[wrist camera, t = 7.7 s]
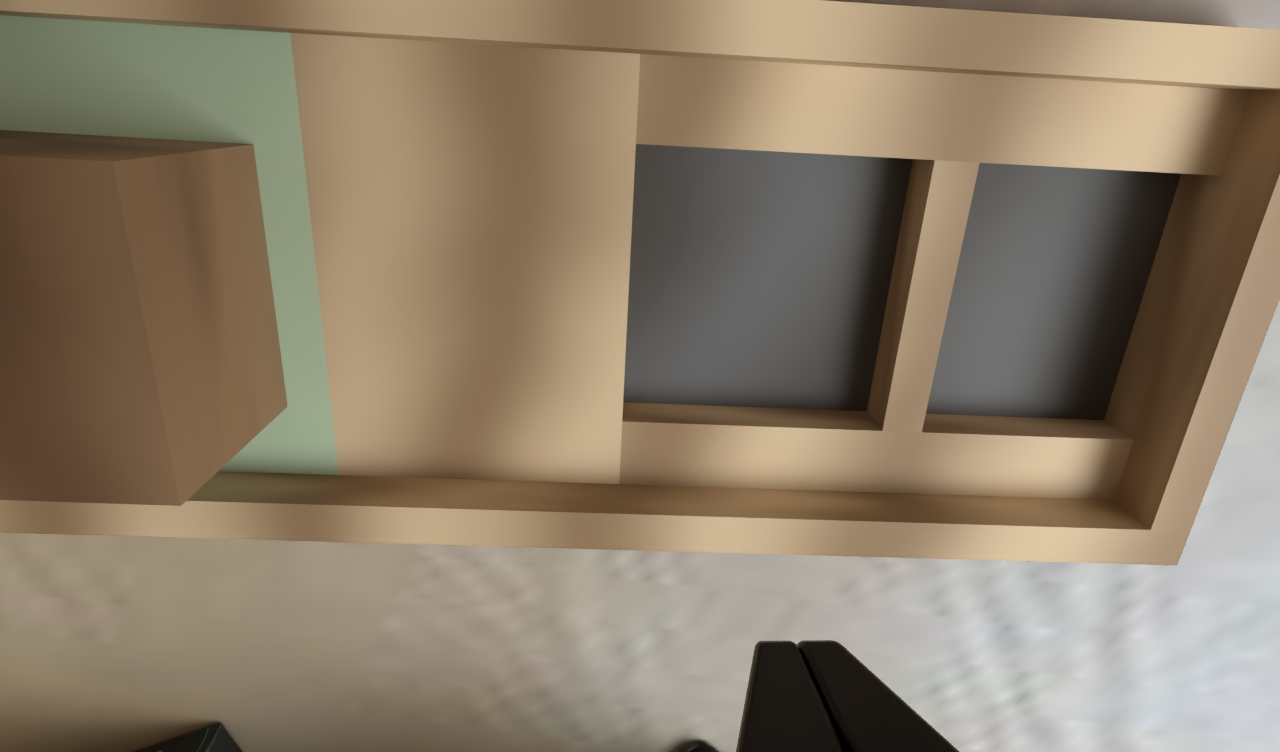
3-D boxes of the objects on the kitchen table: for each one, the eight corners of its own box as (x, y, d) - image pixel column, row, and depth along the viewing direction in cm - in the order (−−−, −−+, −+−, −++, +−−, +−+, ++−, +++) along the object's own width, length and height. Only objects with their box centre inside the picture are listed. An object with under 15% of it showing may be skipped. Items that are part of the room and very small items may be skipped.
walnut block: (27, 396, 17) (-168, 494, 13) (-46, 127, 15) (-310, 138, 11) (287, 406, 17) (180, 505, 13) (253, 144, 15) (112, 162, 11)
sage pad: (43, 442, 19) (5, 464, 17) (-75, 14, 15) (-130, 7, 14) (355, 452, 19) (338, 475, 18) (313, 37, 15) (290, 32, 14)
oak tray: (24, 467, 19) (-77, 530, 16) (-123, -40, 15) (-293, -73, 12) (1101, 502, 21) (1176, 565, 18) (1250, 47, 16) (1381, 36, 14)
